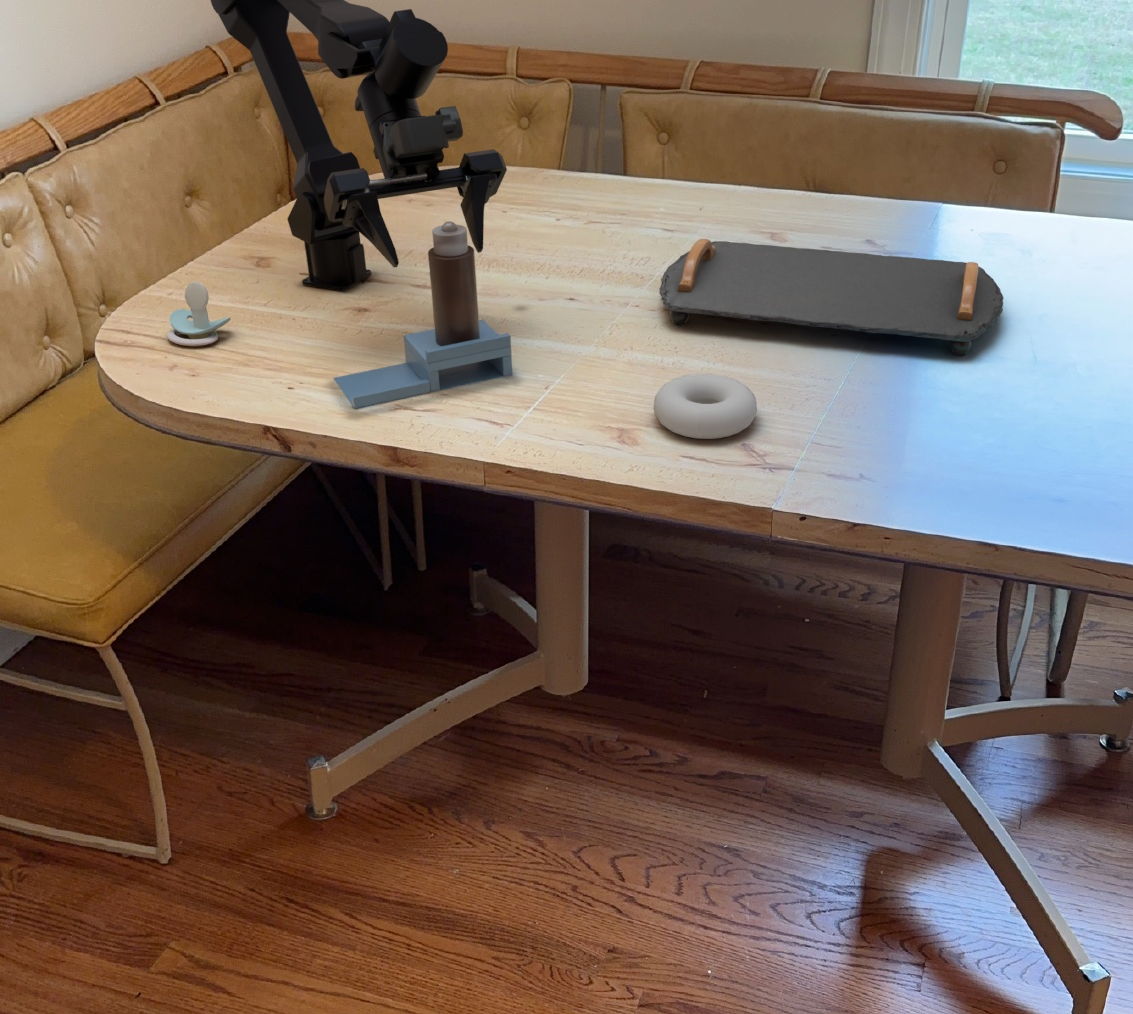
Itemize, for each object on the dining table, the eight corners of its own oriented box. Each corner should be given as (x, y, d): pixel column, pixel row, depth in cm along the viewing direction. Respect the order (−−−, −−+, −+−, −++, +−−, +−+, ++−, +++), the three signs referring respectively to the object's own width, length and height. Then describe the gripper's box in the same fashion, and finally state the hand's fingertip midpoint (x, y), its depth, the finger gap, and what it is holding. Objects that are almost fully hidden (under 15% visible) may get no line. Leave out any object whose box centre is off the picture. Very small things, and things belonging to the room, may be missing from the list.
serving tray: (1001, 288, 145) (1010, 237, 142) (996, 367, 126) (1006, 312, 123) (686, 258, 156) (688, 211, 152) (639, 328, 137) (639, 276, 134)
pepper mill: (427, 344, 125) (416, 226, 118) (449, 328, 128) (439, 212, 122) (466, 351, 123) (458, 231, 117) (487, 334, 127) (480, 217, 120)
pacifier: (206, 353, 134) (240, 332, 139) (195, 301, 131) (229, 280, 135) (155, 343, 137) (190, 322, 141) (142, 292, 133) (178, 272, 138)
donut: (743, 396, 122) (646, 400, 122) (746, 365, 120) (647, 369, 120) (766, 443, 114) (661, 448, 113) (769, 410, 112) (662, 415, 111)
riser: (333, 384, 126) (327, 338, 124) (484, 352, 132) (482, 308, 130) (355, 415, 120) (349, 368, 118) (513, 381, 126) (510, 335, 123)
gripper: (316, 91, 117) (361, 235, 114) (495, 69, 123) (542, 206, 121) (306, 152, 127) (348, 286, 124) (472, 129, 134) (515, 256, 131)
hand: (439, 258), depth 125 cm, fingers open, 9 cm apart
